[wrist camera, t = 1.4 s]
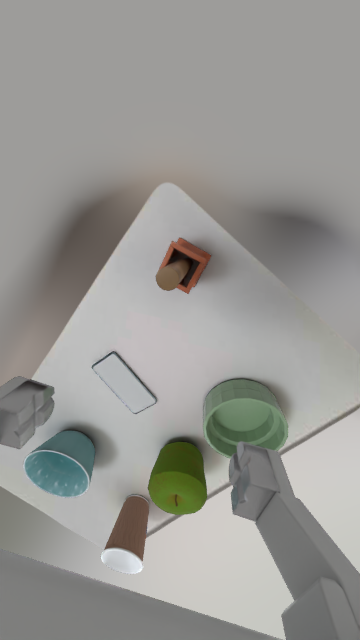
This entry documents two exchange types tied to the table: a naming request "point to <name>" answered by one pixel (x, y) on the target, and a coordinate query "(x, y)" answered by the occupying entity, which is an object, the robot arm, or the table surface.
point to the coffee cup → (128, 537)
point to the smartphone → (124, 383)
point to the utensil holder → (188, 250)
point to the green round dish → (243, 417)
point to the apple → (178, 479)
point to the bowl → (62, 464)
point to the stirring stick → (173, 273)
